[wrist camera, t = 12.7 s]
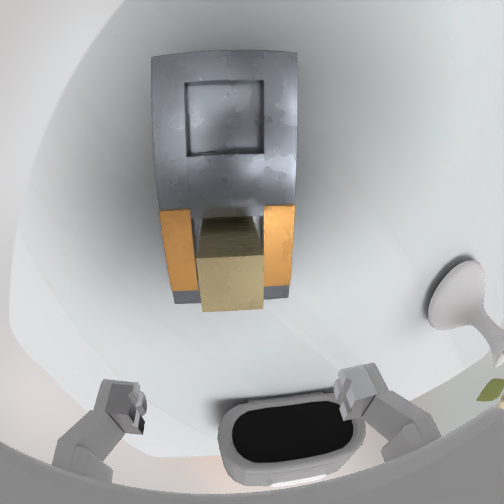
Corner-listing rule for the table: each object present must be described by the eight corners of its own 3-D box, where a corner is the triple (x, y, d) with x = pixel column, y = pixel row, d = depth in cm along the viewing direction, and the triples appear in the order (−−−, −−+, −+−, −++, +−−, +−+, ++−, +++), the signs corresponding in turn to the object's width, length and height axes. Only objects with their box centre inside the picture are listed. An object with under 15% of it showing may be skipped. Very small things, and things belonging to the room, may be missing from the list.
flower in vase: (474, 239, 28) (596, 353, 6) (476, 292, 33) (562, 394, 10) (406, 293, 30) (518, 453, 8) (417, 339, 35) (493, 465, 13)
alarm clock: (350, 382, 37) (379, 452, 25) (336, 411, 42) (357, 472, 30) (215, 397, 35) (219, 481, 23) (220, 425, 40) (225, 494, 28)
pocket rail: (160, 64, 17) (150, 56, 14) (287, 60, 18) (297, 52, 15) (178, 284, 26) (174, 305, 23) (281, 279, 27) (288, 298, 24)
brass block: (203, 217, 22) (196, 258, 16) (252, 215, 22) (264, 255, 16) (206, 260, 24) (202, 311, 18) (252, 258, 24) (263, 308, 18)
